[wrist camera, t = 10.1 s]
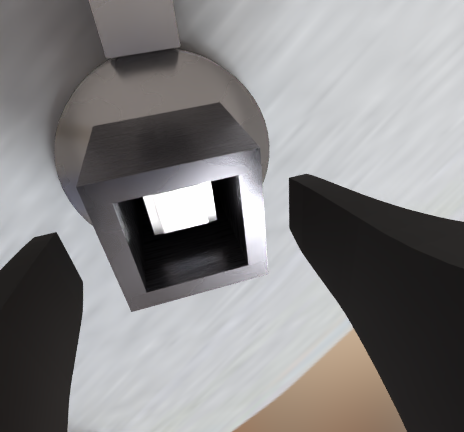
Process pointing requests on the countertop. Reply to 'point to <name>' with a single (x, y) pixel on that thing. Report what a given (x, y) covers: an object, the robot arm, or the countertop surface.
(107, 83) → the ratchet
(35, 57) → the countertop surface
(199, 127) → the square metal tube
